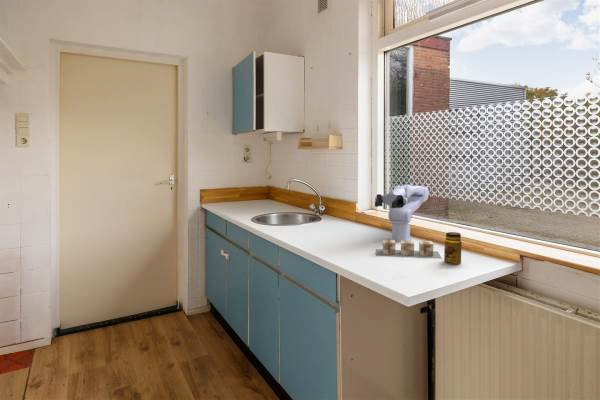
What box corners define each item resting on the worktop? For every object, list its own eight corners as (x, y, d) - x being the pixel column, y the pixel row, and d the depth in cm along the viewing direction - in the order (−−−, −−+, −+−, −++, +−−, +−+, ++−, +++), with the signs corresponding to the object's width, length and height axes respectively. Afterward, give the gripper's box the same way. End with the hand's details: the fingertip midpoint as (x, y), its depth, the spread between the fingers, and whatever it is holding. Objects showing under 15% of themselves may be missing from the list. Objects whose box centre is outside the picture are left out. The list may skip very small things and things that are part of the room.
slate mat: (437, 252, 164) (437, 251, 164) (441, 259, 154) (442, 258, 153) (375, 250, 169) (375, 249, 169) (375, 257, 159) (375, 255, 159)
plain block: (412, 252, 163) (413, 240, 163) (413, 255, 158) (414, 243, 158) (400, 251, 164) (400, 240, 164) (401, 254, 159) (401, 243, 159)
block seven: (431, 253, 162) (431, 241, 161) (433, 256, 157) (433, 244, 156) (419, 252, 163) (419, 240, 162) (420, 255, 158) (420, 243, 157)
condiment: (442, 265, 146) (443, 234, 145) (443, 259, 154) (444, 230, 153) (462, 267, 143) (464, 235, 142) (463, 261, 151) (464, 231, 150)
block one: (394, 251, 165) (394, 239, 164) (395, 254, 160) (395, 242, 159) (382, 251, 166) (382, 239, 165) (382, 254, 161) (383, 242, 160)
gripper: (379, 187, 181) (367, 195, 170) (410, 188, 172) (399, 196, 162) (380, 202, 182) (368, 210, 172) (411, 204, 174) (400, 212, 163)
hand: (383, 205), depth 167 cm, fingers open, 7 cm apart
